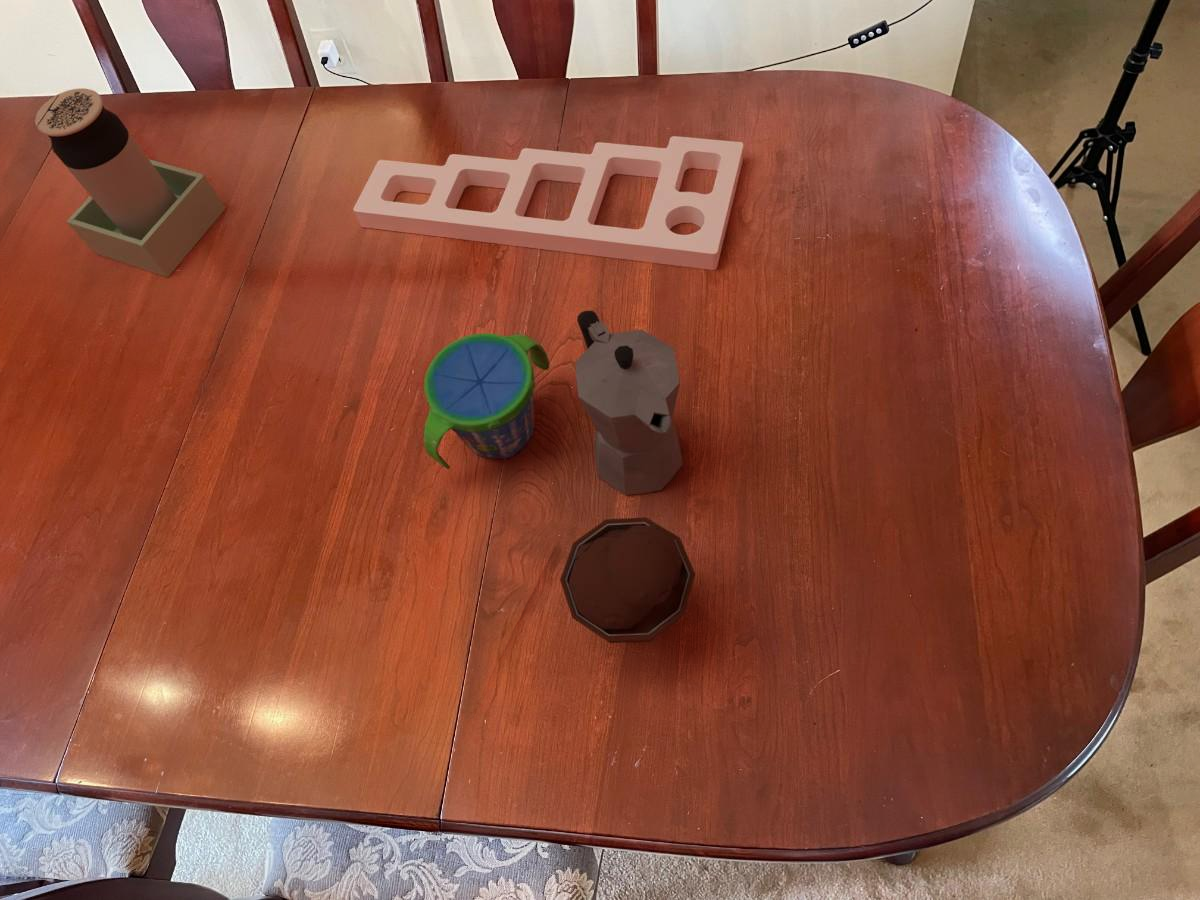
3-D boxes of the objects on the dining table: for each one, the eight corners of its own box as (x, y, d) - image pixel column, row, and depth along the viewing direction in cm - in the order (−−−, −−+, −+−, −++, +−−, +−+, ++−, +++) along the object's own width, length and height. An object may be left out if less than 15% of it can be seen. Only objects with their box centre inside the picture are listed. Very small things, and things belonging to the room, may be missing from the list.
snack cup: (474, 511, 85) (447, 462, 76) (412, 448, 89) (380, 395, 80) (587, 414, 89) (575, 357, 80) (523, 358, 93) (504, 299, 85)
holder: (359, 226, 106) (352, 211, 104) (409, 128, 114) (403, 111, 112) (716, 270, 97) (716, 254, 94) (743, 159, 105) (744, 142, 102)
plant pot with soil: (667, 542, 81) (661, 468, 68) (712, 650, 75) (713, 592, 62) (562, 579, 80) (535, 512, 67) (599, 691, 75) (577, 641, 62)
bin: (94, 253, 109) (65, 221, 104) (154, 187, 114) (129, 153, 109) (168, 277, 105) (141, 245, 100) (226, 208, 110) (204, 174, 106)
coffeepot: (712, 484, 83) (714, 382, 68) (629, 529, 82) (611, 435, 66) (636, 375, 91) (622, 260, 75) (558, 414, 89) (527, 305, 74)
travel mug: (200, 209, 110) (116, 90, 94) (167, 254, 106) (75, 139, 91) (149, 200, 112) (59, 82, 96) (116, 244, 108) (17, 130, 93)
